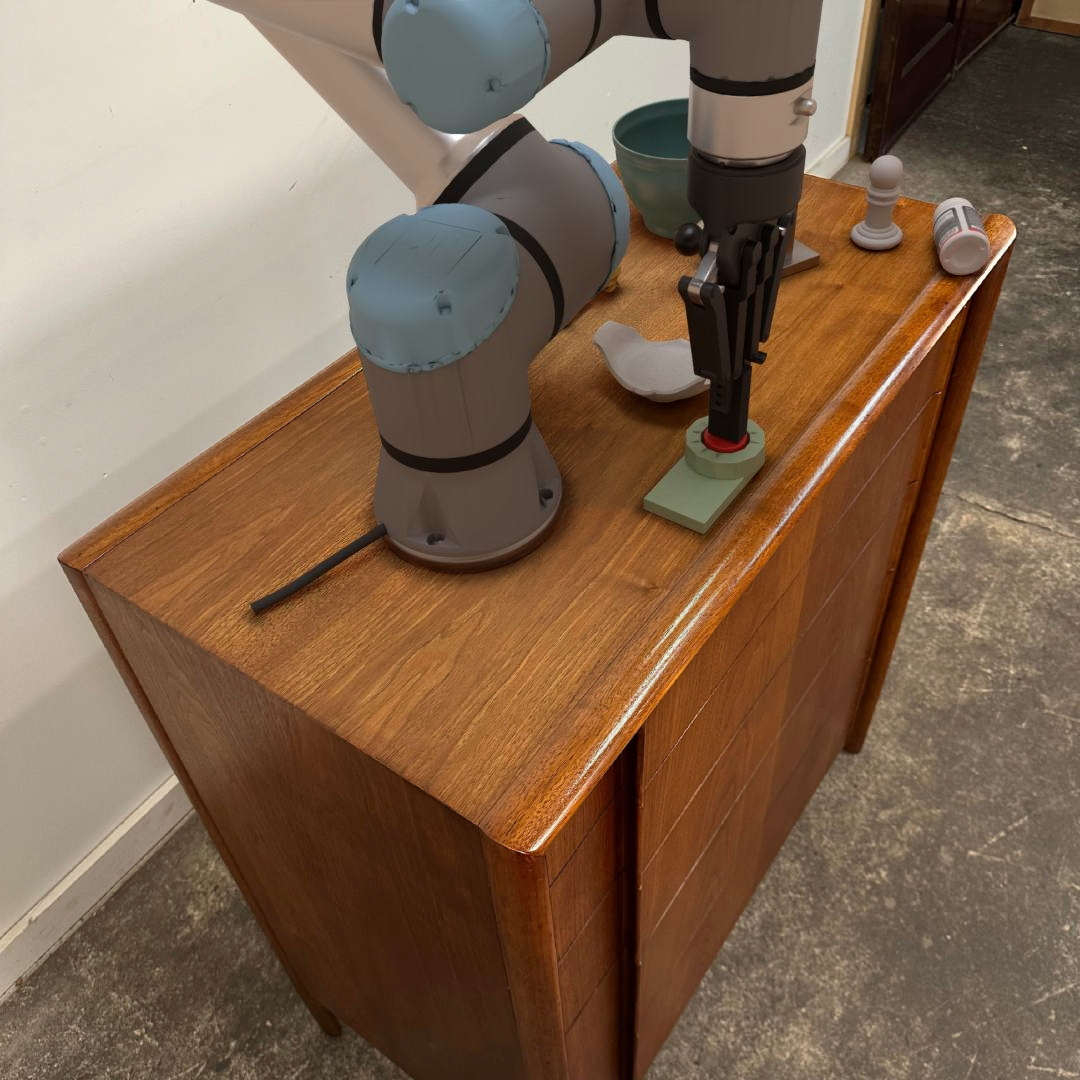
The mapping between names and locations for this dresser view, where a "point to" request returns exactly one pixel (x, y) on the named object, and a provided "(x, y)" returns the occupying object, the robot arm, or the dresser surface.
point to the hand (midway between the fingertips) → (727, 432)
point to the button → (723, 443)
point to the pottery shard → (649, 363)
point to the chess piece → (880, 206)
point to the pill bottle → (960, 237)
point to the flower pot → (656, 163)
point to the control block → (705, 479)
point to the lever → (688, 238)
